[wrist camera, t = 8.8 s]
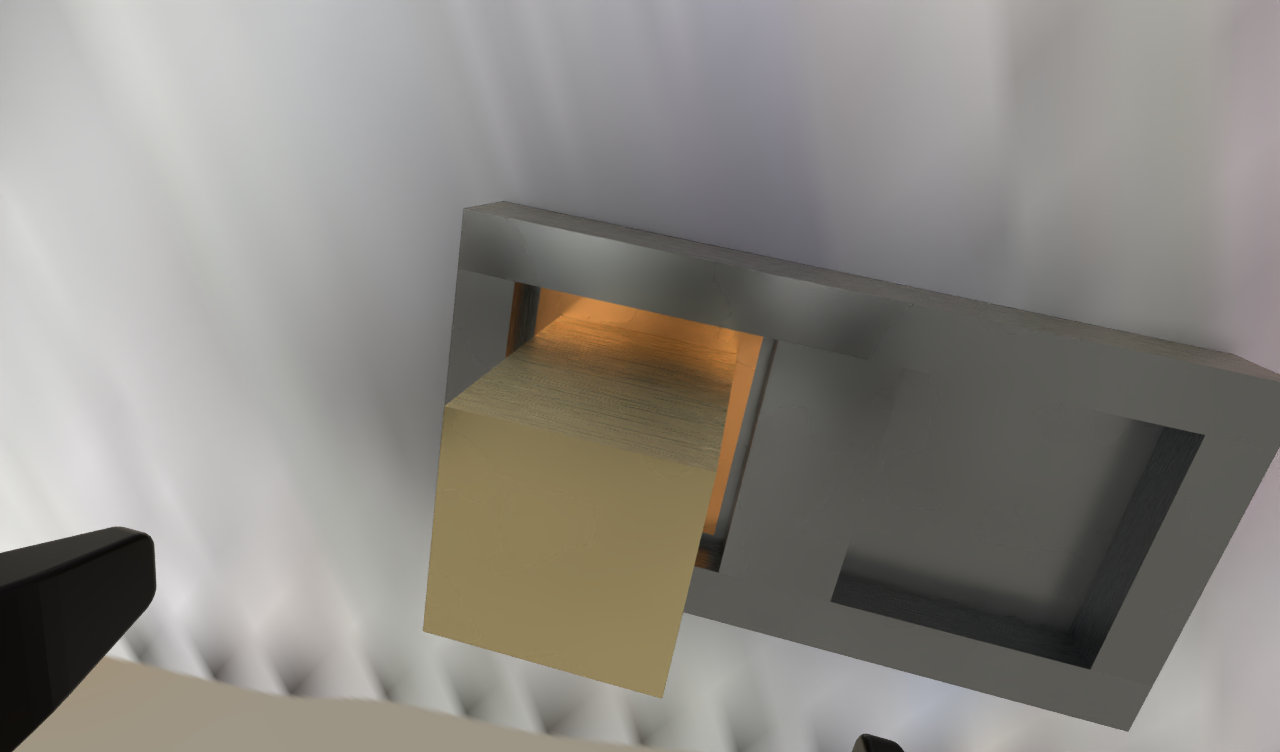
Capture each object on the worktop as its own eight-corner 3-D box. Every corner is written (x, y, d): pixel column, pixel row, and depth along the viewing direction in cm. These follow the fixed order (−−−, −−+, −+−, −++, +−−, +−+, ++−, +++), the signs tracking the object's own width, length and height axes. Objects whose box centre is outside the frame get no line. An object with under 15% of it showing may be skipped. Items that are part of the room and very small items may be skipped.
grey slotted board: (1235, 355, 15) (1311, 387, 13) (1085, 662, 17) (1128, 731, 15) (502, 201, 16) (463, 208, 14) (468, 501, 19) (430, 544, 17)
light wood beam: (737, 354, 15) (716, 472, 10) (699, 514, 17) (662, 698, 11) (561, 315, 16) (444, 405, 10) (537, 473, 17) (422, 631, 12)
